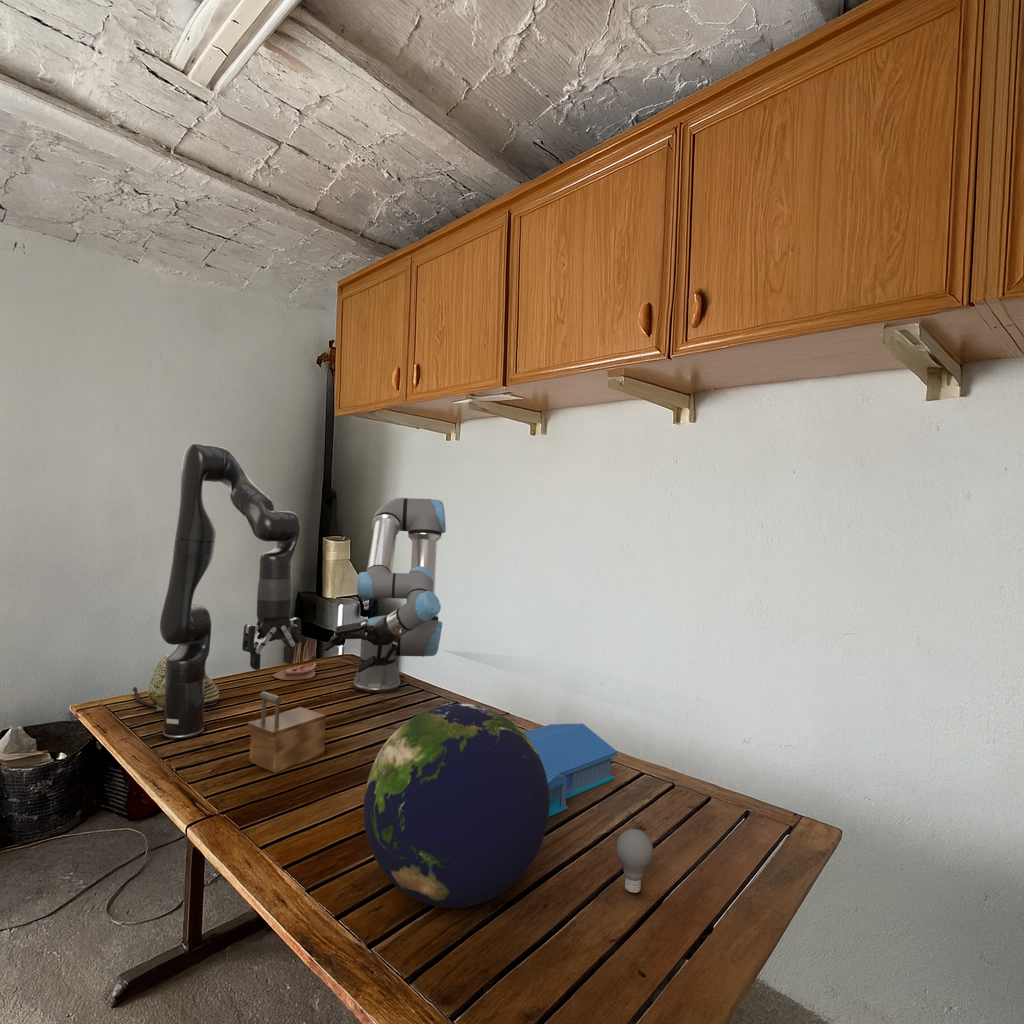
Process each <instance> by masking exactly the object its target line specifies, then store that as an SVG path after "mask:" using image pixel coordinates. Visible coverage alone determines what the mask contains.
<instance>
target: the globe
mask: <svg viewBox="0 0 1024 1024" xmlns="http://www.w3.org/2000/svg"><path fill="white" fill-rule="evenodd" d="M523 732H524V731H523V730H522V729H521V728H520V727H519V726H517V724H515V723H514V722H513V721H512V720H510V719H509V718H507V717H505V716H504V715H503V714H501V713H498V712H497V711H494V710H493V709H490V708H486V707H484V706H479V705H476V704H472V703H450V704H444V705H440V706H439V705H438V706H436V707H432V708H429V709H427V710H425V711H423V712H420V713H419V714H416V715H415V716H413V717H412V718H410V719H408V720H407V721H406V722H404V723H403V724H401V726H400V727H398V729H396V730H395V731H394V732H393V734H392V735H391V736H390V737H388V739H387V740H386V741H385V742H384V744H383V745H382V747H381V748H380V750H379V752H378V753H377V755H376V758H375V759H374V762H373V764H372V766H371V768H370V771H369V774H368V778H367V781H366V783H365V790H364V797H363V824H364V830H365V835H366V839H367V842H368V845H369V848H370V851H371V854H372V856H373V858H374V859H375V861H376V863H377V864H378V867H379V868H380V869H381V871H382V872H383V874H384V875H385V876H386V877H387V878H388V879H389V881H390V882H391V883H392V884H393V885H394V886H395V887H396V888H398V890H400V891H402V893H404V894H406V895H407V896H409V897H411V898H413V899H414V900H415V901H418V902H421V903H423V904H425V905H429V906H433V907H437V908H442V909H443V908H444V909H462V908H470V907H474V906H477V905H480V904H484V903H487V902H489V901H491V900H493V899H495V898H496V897H498V896H500V895H501V894H503V893H505V892H506V891H508V890H509V889H510V888H511V887H512V886H513V885H515V884H516V883H517V882H518V881H519V880H520V879H521V878H522V876H524V874H525V873H526V872H527V870H528V869H529V868H530V866H531V865H532V864H533V862H534V860H535V858H536V857H537V855H538V853H539V851H540V848H541V846H542V844H543V841H544V839H545V835H546V832H547V827H548V823H549V818H550V817H549V788H548V782H547V777H546V773H545V770H544V766H543V764H542V761H541V759H540V756H539V754H538V752H537V750H536V749H535V747H534V745H533V744H532V742H531V741H530V739H529V738H528V737H527V736H526V735H525V734H524V733H523Z"/></svg>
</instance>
